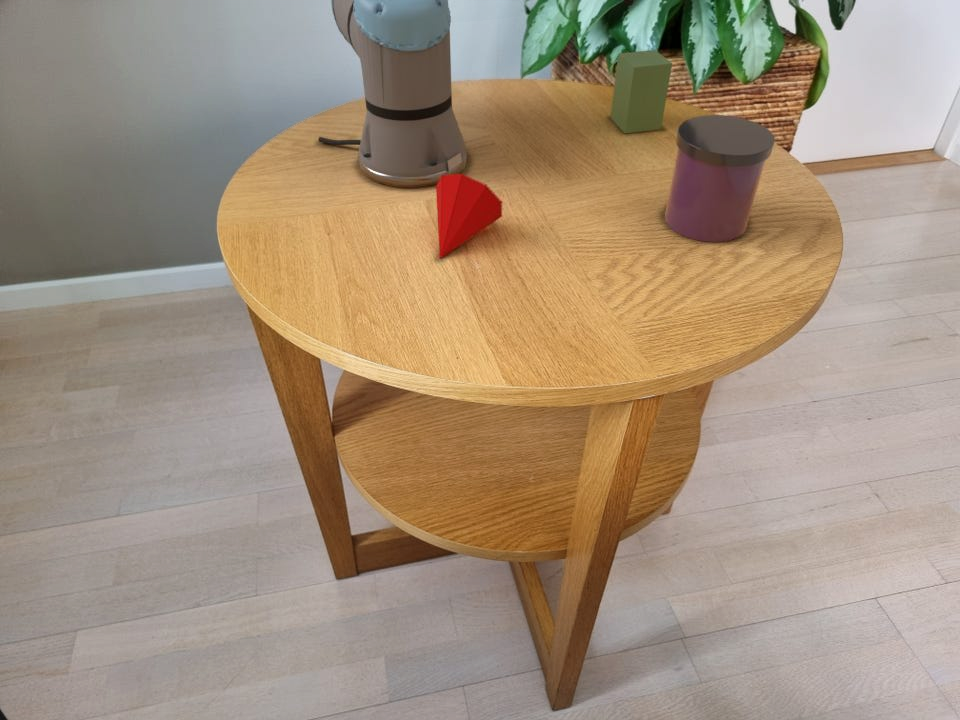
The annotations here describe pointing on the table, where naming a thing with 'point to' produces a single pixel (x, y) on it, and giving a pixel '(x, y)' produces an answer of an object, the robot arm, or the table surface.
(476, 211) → the gemstone
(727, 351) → the table surface
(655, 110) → the green block
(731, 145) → the jar
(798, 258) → the table surface
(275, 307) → the table surface
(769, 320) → the table surface
